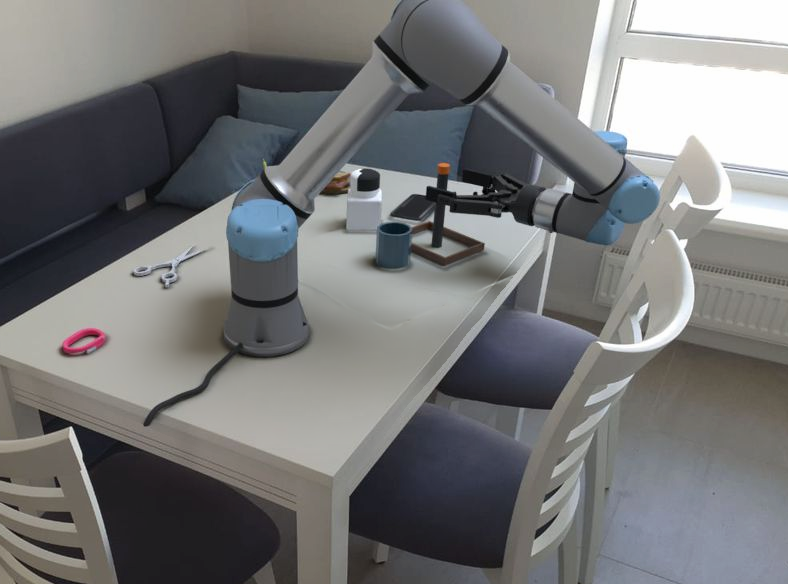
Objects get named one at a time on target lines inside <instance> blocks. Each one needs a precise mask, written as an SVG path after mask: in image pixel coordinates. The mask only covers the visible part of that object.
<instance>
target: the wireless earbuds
mask: <svg viewBox="0 0 788 584" xmlns="http://www.w3.org/2000/svg"><path fill="white" fill-rule="evenodd" d="M490 192H496V190H492V186H491V187H490V188H486V187H482V190H481V193H482V194H481V195H488V193H490ZM472 195H479V193H478V191H473V192H472ZM492 202H493V199H492Z"/></svg>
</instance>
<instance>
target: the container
mask: <svg viewBox="0 0 788 584" xmlns="http://www.w3.org/2000/svg"><path fill="white" fill-rule="evenodd" d="M350 174H351V183H350V189H348V192H347V198H346V225H345V227H346V230H347V231H377V226H379V225H380V224H382V206H383V190H382V189H381V188H380V185H381V173H380V172H379V171H377V170H376V169H373V168H365V167H364V168H358V169H355V170H353V171H352V172H351V173H350Z"/></svg>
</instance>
